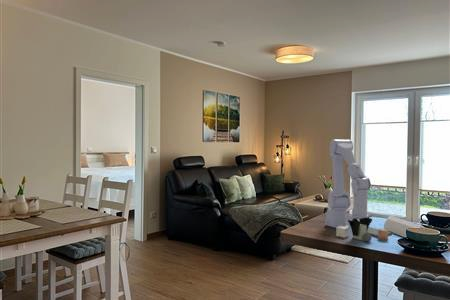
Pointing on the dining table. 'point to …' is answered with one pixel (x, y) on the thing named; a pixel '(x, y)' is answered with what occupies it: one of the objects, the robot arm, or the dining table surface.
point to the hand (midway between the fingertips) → (359, 234)
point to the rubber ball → (366, 237)
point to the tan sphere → (382, 234)
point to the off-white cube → (342, 231)
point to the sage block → (361, 231)
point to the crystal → (399, 225)
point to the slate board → (375, 232)
